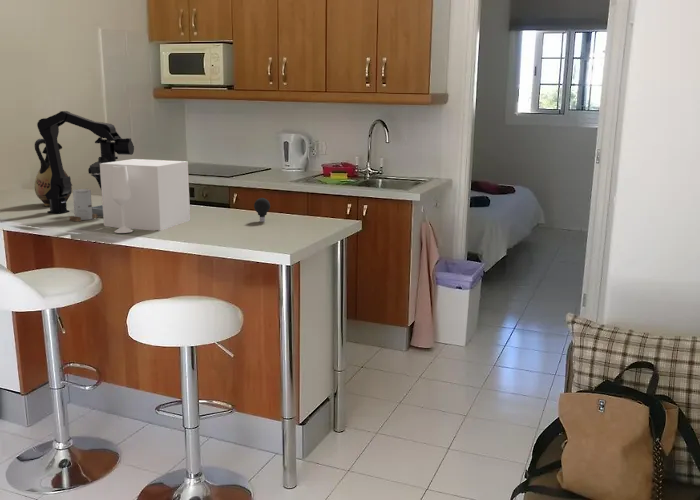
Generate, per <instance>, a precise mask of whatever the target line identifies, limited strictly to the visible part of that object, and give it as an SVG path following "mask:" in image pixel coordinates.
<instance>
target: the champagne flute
mask: <svg viewBox="0 0 700 500" xmlns="http://www.w3.org/2000/svg"><path fill="white" fill-rule="evenodd" d="M112 198H113V200H114V201H115V202H116V203H117V204H119V205H120V206H121V221H122V226H121V227H120V228H117V229H116V230H114V231H113V232H114V233H115V234H125V233H133V231H134V229H129V228H128V227H126V226H125V216H124V205H125V204H126V203H127V202H128V201H129V200H130V198H131V192H130V185H129V179H128V173H127V166H113V179H112Z"/></svg>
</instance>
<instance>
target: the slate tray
mask: <svg viewBox="0 0 700 500" xmlns="http://www.w3.org/2000/svg"><path fill="white" fill-rule="evenodd" d="M92 214H97V217H103V204H101V205H95V206H92Z"/></svg>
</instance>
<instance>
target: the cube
mask: <svg viewBox="0 0 700 500" xmlns="http://www.w3.org/2000/svg"><path fill="white" fill-rule="evenodd" d="M113 166H127V173H128V179H129V185H130V192H131V198H130V200H129V201H128V202H127V203H126V204H125V205H124V216H125V226H126V227H128V228H129V229H131V230H142V231H143V230H145V231H155V230H158V232H162V231H164V229H165V230H167V229H170V228H173V227H175V225H176V226H178V225H181V224H184V223H187V222H189V221H191V209H190V205H191V204H190V203H191V202H190V185H189V184H190V179H189V161H188V160H186V161H184V160H169V159H168V160H163V159H142V158H132V159H124V160H117V161H115V162H108V163H101V164H100V175H101V189H102V191H101V201H102V202H101V203H102V204H101V205H103V226H104V227H111V228H117V229H119V228H120V227H121V226H122V221H121V206H120V205H119V204H117V203H116V202H115V201H114V200H113V198H112V179H113ZM101 189H100V190H101ZM161 230H162V231H161Z"/></svg>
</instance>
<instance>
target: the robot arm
mask: <svg viewBox="0 0 700 500" xmlns="http://www.w3.org/2000/svg"><path fill="white" fill-rule="evenodd" d="M65 123H69V124H72V125H74V126H77V127H80V128H83V129H85V130H89V131H90V132H92V133H93V134H94V135H96V136H97V137H98V138H97V139H96V140H95V141H94V144H99V147H100V156H98V158H97V159H98V160H97V161H96V162H94V163H92V164H91V165H89V168H88V170H87V171H88V174H89V175H90V176H91V177H93V178H95V179H96V181H97V183H98V187H99V188H100V191H101V192H102V189H101V175H100V164H101V163H108V162H115V161H116V160H118V159H119V158H118V157H119V156H116V154H117V155H121V156H122V155H125V156H126V155H128V156H130V155H131V156H132V155H133V154H134V152H135V146H134V143H133V141H132V138H130V137H128V138H127V137H126V138H122V137H121V135H120V134H119V133H118V132H117V129H116V127H115V125H114V124H112V123H110V122H109V123H108V122H101V121H100V122H99V121H94V120H92V119H89V118H86V117H84V116H80V115H77V114H75V113H73V112H72V113H71V112H70V111H67V110H62V111H61V110H60V111H59V112H57V113H56V114H53V115H50V116H48V117H45V118H44V117H43V118H40V119H39V120H38V121H37V123H36V127H37V129H38V132H39V134H40V136H41V137H42V139H44V140H45V144H44V145H45V147H46V148H47V153H48V158H49V163H50V168H51V172H52V177H51V181H50V188H51V189H50V190H49V191H48V192H47V193H46V194H45V196H46V198H47V199H49V202H50V206H49V210H48V211H47V213H49V214H55V215H56V214H63V213H69V212H70V210H67V208H68V207H67V202H66V200H65V198H64V197H67V196H68V193H69V192H70V190H71V186H73V184H72V181H71V176H70V175H68V177H67V176H66V175H65V174H64V171H65V170H64V171H63V169H64V167H63V162H62V158H61V153H60V152H61V151H60V150H59V146H58V143H59V142H58V137H59V133H60V127H61V126H63V125H64V124H65Z"/></svg>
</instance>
